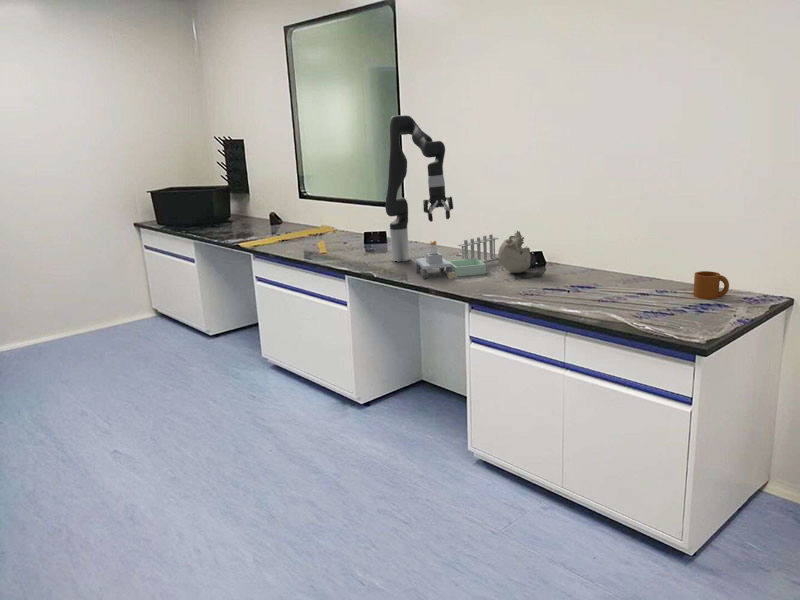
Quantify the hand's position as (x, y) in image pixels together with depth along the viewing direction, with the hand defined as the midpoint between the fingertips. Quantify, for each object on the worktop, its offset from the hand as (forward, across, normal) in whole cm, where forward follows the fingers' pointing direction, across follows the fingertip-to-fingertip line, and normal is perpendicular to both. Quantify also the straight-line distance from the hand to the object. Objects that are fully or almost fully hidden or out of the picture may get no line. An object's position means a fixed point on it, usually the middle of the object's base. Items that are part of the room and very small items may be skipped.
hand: (439, 220), depth 293 cm
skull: (+28, -29, +16) cm, 43 cm away
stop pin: (+19, +5, 0) cm, 20 cm away
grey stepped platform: (+26, +4, -2) cm, 26 cm away
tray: (+26, -11, +2) cm, 29 cm away
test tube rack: (+26, -26, -12) cm, 39 cm away
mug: (+33, -70, +91) cm, 120 cm away
